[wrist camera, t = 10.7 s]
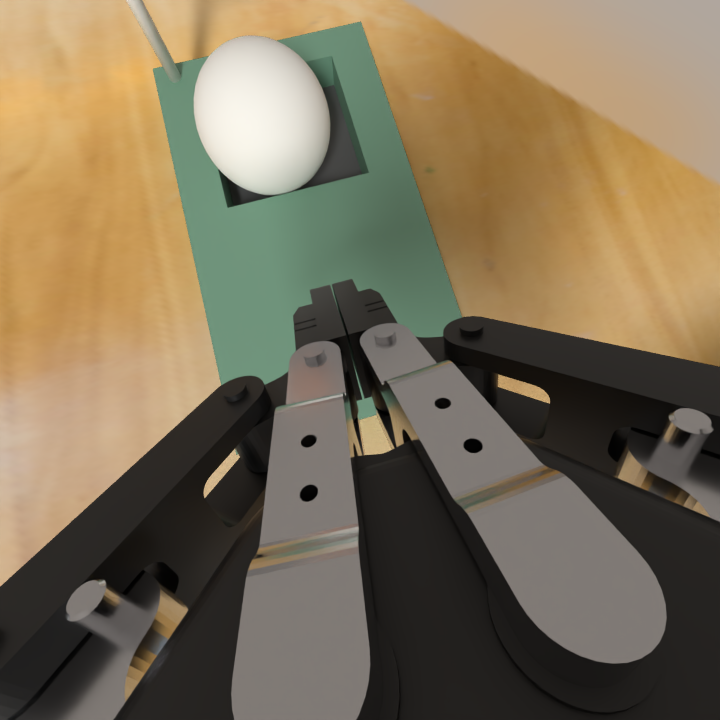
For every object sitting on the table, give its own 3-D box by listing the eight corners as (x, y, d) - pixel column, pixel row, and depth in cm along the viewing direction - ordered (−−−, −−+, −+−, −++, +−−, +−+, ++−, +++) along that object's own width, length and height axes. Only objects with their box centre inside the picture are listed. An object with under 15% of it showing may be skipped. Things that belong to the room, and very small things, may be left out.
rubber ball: (339, 80, 17) (353, 198, 25) (291, -20, 19) (317, 117, 27) (180, 133, 17) (244, 236, 24) (150, 25, 19) (217, 151, 27)
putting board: (360, 57, 28) (363, -330, 13) (471, 387, 23) (650, 335, 9) (171, 100, 27) (-40, -260, 13) (249, 451, 23) (62, 504, 8)
